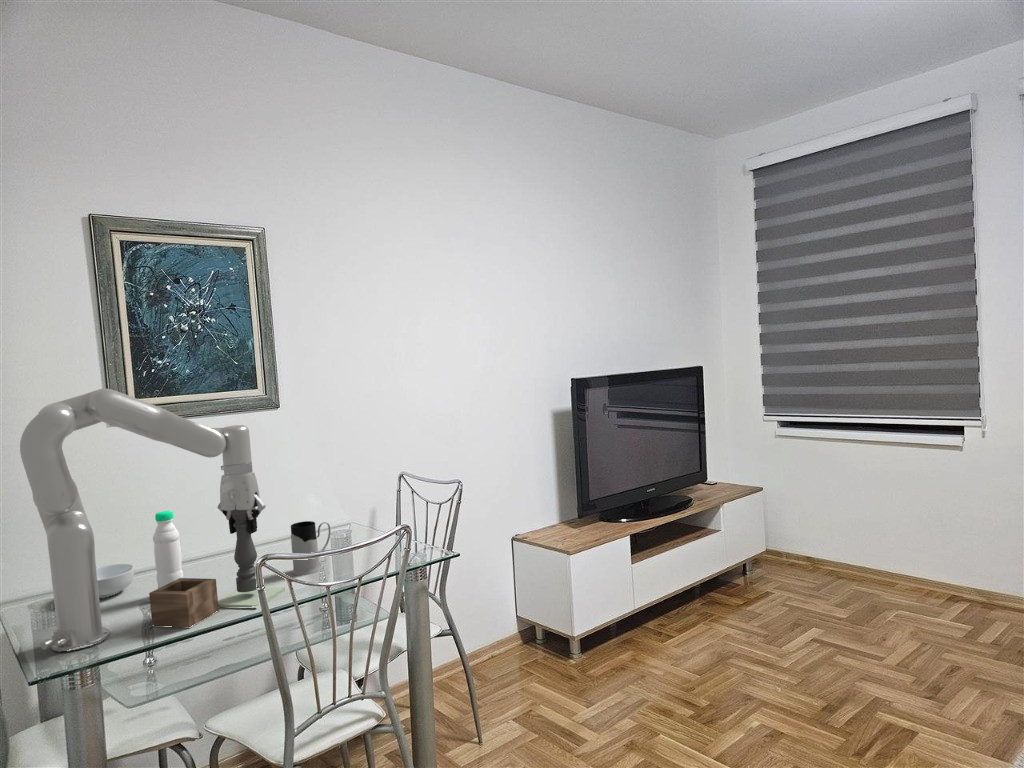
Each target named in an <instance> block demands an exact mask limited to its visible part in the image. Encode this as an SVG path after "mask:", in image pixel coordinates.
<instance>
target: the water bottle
mask: <svg viewBox="0 0 1024 768" xmlns="http://www.w3.org/2000/svg"><path fill="white" fill-rule="evenodd" d="M154 517H155V519H154V520H155V521H156V523H157V526H156V528H155V532H154V534H153V536H152V541H153V544H154V545H153V553H154V563H155V568H156V583H157V589H158V588H161V587H163V586H165V585H167V584H169V583H171V582H173V581H175V580H177V579H179V578H184V572H183V569H182V568H183V560H182V559H183V558H182V549H181V543H180V532H179V531H178V529H177V528H176V526H175V524H174V523H173V520H174V512H173V511H171V510H163V511H158V512H156V513H155V515H154Z"/></svg>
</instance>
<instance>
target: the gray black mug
mask: <svg viewBox="0 0 1024 768" xmlns="http://www.w3.org/2000/svg"><path fill="white" fill-rule="evenodd" d="M324 524H326V525H327V527H328V534H327V535H328V536H327V539H326V543H325V544H324V546H323V548H322V549H321V551H323V552H324V551H325V549H326V548H327V546H328V544H329V542H330V538H331V526H330V524H329V523H328V522H325V521H324V522H321V523H320V524H319V525H318V526H317V527H318V528H317V527H316V522H315V521H310V520H309V521H307V520H306V521H299V522H295V523H293V524H290V533H291V534H290V541H291V542H290V543H291V553H311V552H318V553H319V548H318V538H319V537H320V535H321V531H320V530H321V527H322V525H324ZM316 528H317V531H316ZM321 551H320V552H321ZM319 558H320V557H319ZM319 558H315V559H308V560H293V559H292V565H293V567H292V568H293V569H292V574H293V575H295V576H306V575H307V576H308V575H312V574H315V573H318V572H320V571H321V566H320V559H319Z"/></svg>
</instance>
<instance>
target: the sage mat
mask: <svg viewBox="0 0 1024 768" xmlns="http://www.w3.org/2000/svg"><path fill="white" fill-rule="evenodd" d="M264 587H265V591H266V595H267V599H268V602H270V601H271V600H273V599H275V598H276V597H278V596H279V595H280V594H282V593H283V592H286V588H285V586H264ZM272 598H273V599H272ZM269 600H270V601H269ZM258 605H259V601H258V595H257V591H256V590H254V591H250V592H238V591H237V589H236V590H234V591H232V592H230V593H229V594H227V595H225V596H223V597H222V598H220V599H218V607H252V606H258Z"/></svg>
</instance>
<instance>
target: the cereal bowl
mask: <svg viewBox="0 0 1024 768" xmlns="http://www.w3.org/2000/svg"><path fill="white" fill-rule="evenodd" d="M96 573H97V582H98V592H99V598H102V599H106V598H105V597H107V598H110V597H109V596H111V597H113V596H116V595H118V594H119V593H120V592H121V591H122V590H124V589H126V588H128V587H129V586H130V585H131V584H132V582H133V581H134V577H135V566H134V565H133V564H130V563H128V564H127V563H118V564H117V563H115V564H108V565H102V566H96ZM117 593H118V594H117ZM115 594H116V595H115ZM112 595H113V596H112Z"/></svg>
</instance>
